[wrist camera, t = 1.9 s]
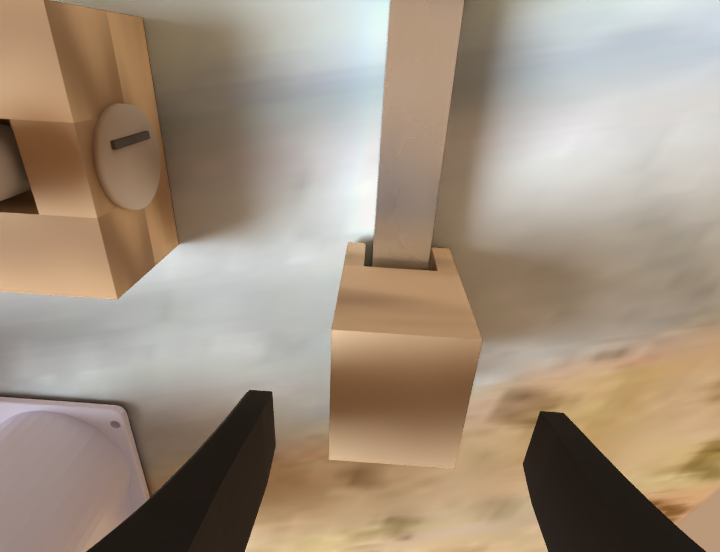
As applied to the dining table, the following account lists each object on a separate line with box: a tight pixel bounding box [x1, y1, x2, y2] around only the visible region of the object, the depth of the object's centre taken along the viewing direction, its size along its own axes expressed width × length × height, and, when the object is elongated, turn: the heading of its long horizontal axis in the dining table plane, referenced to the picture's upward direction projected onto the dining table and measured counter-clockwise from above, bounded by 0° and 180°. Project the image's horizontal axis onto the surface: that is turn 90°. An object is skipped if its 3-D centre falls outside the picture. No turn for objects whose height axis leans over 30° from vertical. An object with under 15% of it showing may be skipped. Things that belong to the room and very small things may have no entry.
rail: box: [372, 0, 464, 270], centre depth 15 cm, size 16×3×4 cm, turn 177°
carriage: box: [329, 242, 483, 469], centre depth 15 cm, size 5×4×6 cm
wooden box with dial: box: [0, 0, 179, 299], centre depth 14 cm, size 8×6×4 cm
